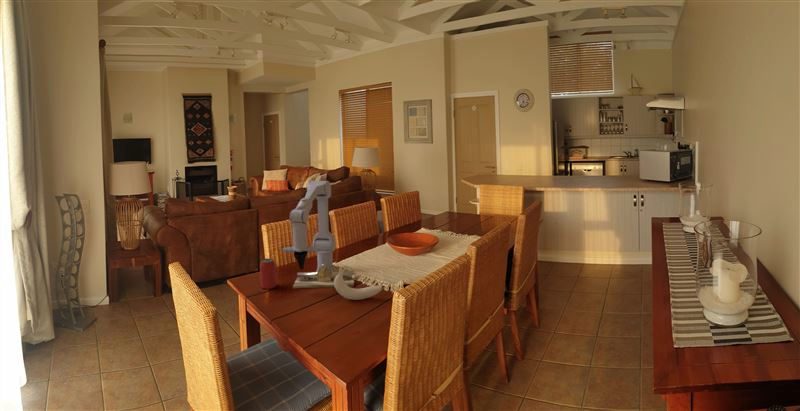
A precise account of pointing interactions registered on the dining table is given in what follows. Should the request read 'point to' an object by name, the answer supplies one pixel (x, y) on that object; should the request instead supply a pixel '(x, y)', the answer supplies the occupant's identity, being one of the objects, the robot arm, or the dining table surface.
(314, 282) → the valve board
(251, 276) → the dining table surface
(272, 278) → the beer can
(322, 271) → the lever
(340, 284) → the banana
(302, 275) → the valve
